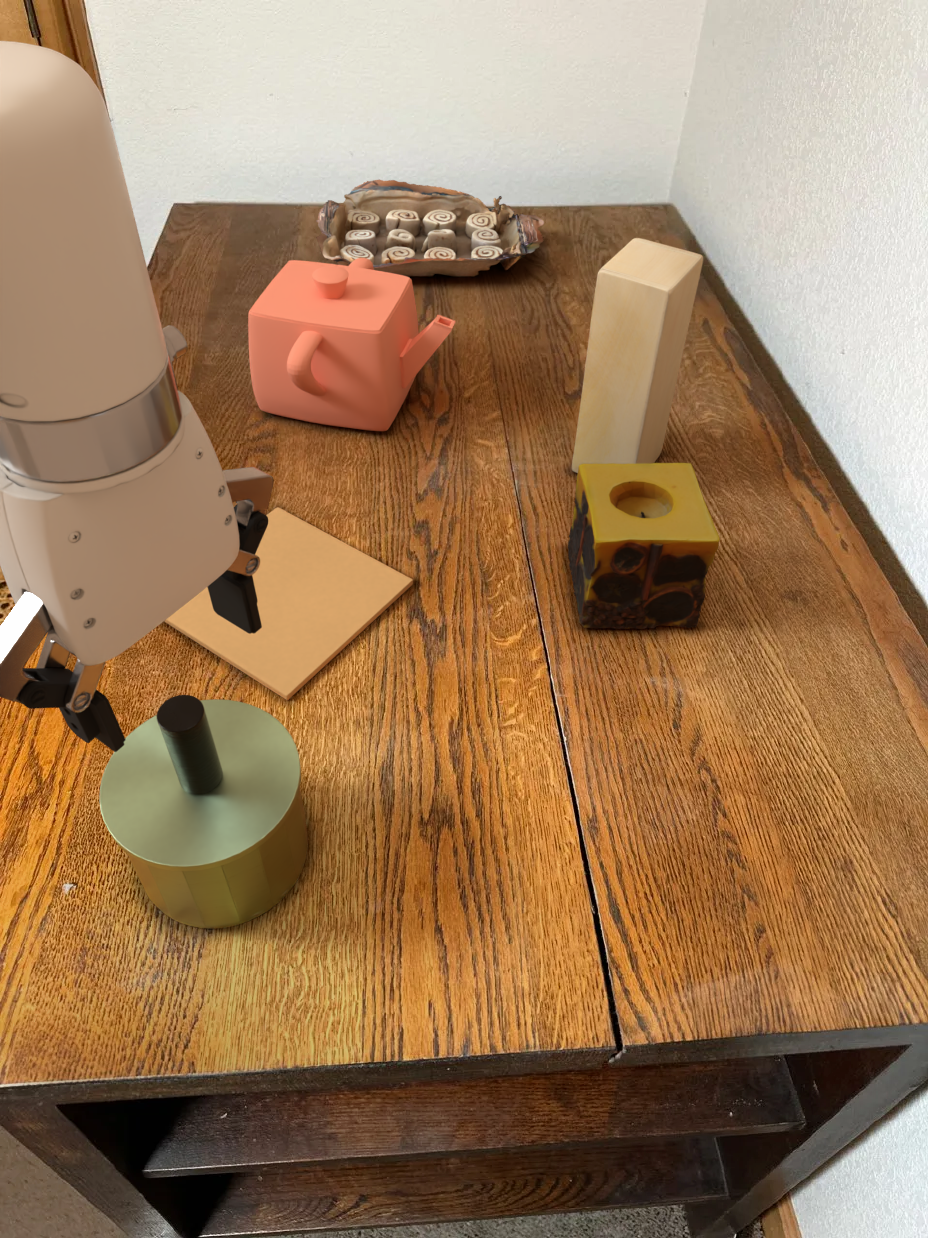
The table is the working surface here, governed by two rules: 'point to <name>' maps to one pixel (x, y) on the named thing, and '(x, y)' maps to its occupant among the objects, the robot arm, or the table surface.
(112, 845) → the table surface
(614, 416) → the tall beige wooden block
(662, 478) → the candle
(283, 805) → the lid
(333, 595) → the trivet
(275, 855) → the pot
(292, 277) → the teapot
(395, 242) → the baking tray
